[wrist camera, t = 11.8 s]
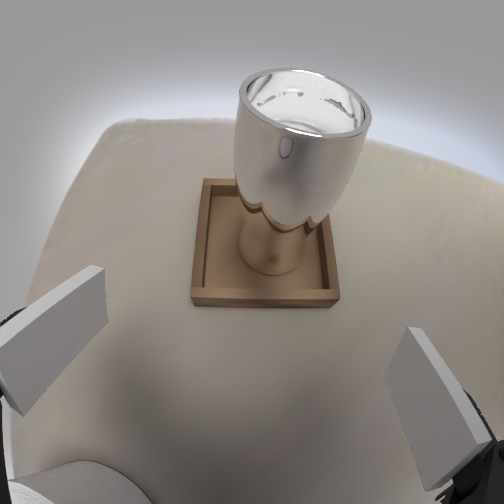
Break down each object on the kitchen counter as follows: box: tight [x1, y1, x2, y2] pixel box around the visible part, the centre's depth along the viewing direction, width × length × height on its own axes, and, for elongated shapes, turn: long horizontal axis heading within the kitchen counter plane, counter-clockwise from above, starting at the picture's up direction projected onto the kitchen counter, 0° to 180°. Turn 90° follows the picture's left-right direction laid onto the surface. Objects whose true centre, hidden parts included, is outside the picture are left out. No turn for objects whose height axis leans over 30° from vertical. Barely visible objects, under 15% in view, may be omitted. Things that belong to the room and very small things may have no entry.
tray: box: [191, 179, 340, 308], centre depth 25 cm, size 12×12×2 cm
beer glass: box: [234, 68, 372, 275], centre depth 18 cm, size 7×7×15 cm
